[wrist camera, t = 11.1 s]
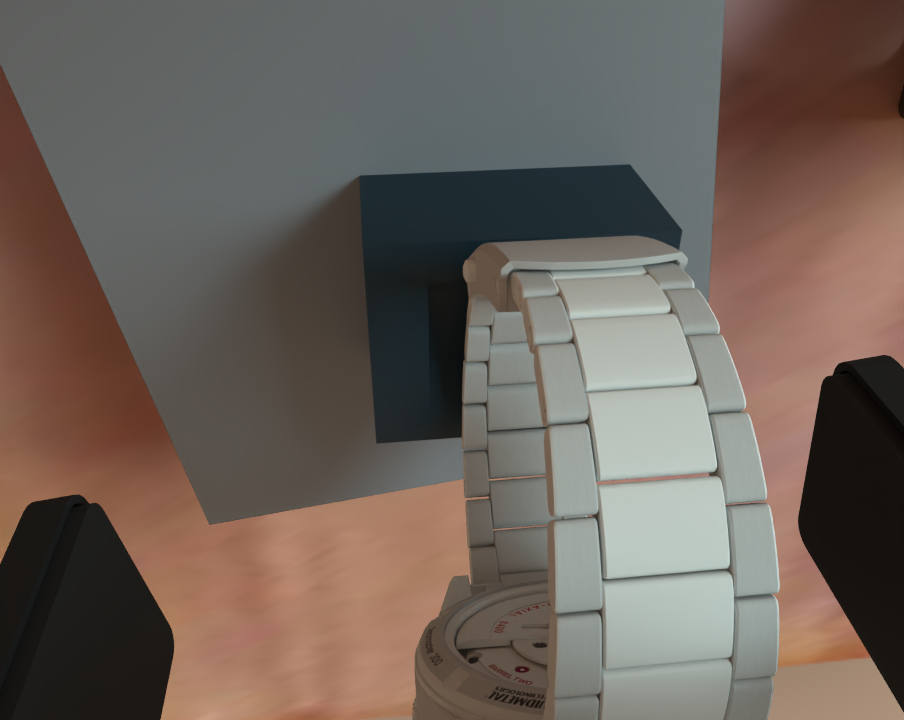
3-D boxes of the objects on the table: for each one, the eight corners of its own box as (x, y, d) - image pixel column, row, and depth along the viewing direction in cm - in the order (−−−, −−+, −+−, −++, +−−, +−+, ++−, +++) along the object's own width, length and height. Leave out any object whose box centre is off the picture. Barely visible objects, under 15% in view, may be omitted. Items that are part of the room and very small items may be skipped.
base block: (66, -63, 18) (-36, -13, 13) (629, -160, 18) (732, -146, 13) (235, 387, 26) (209, 524, 21) (632, 315, 26) (701, 435, 21)
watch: (376, 421, 20) (404, 949, 11) (353, 85, 15) (368, 511, 6) (601, 406, 20) (811, 896, 11) (646, 75, 15) (1068, 457, 6)
